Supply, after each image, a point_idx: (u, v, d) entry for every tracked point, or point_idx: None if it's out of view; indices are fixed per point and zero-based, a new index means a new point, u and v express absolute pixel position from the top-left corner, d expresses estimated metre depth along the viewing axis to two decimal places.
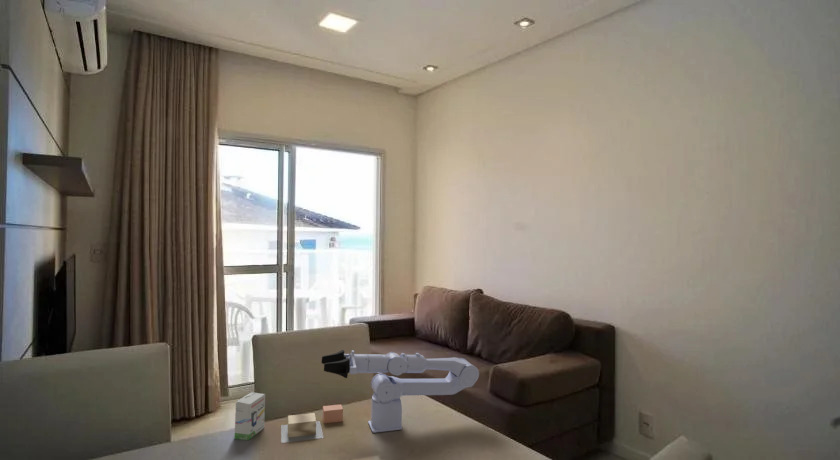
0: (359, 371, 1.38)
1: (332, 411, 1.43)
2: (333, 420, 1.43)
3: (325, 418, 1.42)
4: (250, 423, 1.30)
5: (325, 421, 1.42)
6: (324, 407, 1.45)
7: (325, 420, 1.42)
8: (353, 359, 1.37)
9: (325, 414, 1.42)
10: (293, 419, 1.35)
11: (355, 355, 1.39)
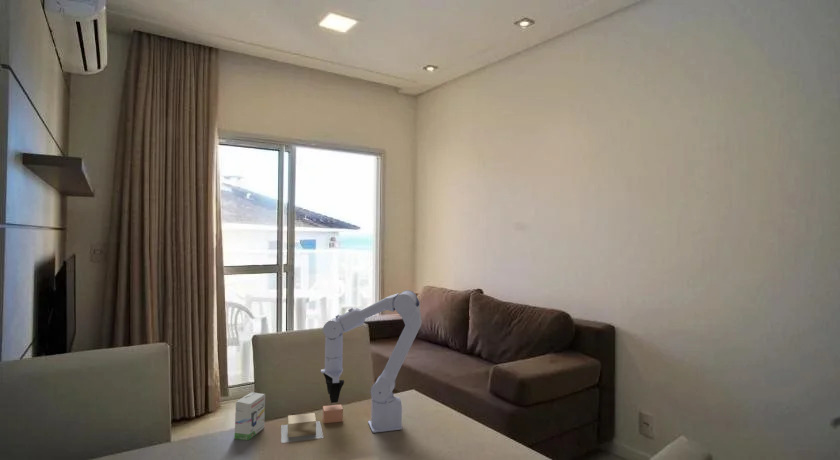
0: (340, 365, 1.43)
1: (332, 411, 1.43)
2: (333, 420, 1.43)
3: (325, 418, 1.42)
4: (250, 423, 1.30)
5: (325, 421, 1.42)
6: (324, 407, 1.45)
7: (325, 420, 1.42)
8: (327, 374, 1.41)
9: (325, 414, 1.42)
10: (293, 419, 1.35)
11: (325, 369, 1.43)
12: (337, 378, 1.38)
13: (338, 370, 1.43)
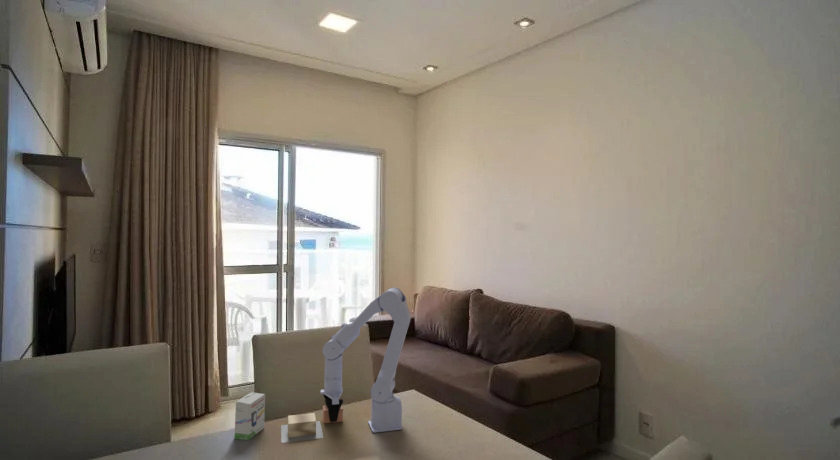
0: (339, 385, 1.43)
1: None
2: None
3: (325, 418, 1.42)
4: (250, 423, 1.30)
5: (325, 421, 1.42)
6: (324, 407, 1.45)
7: (325, 420, 1.42)
8: (327, 395, 1.41)
9: (325, 414, 1.42)
10: (293, 419, 1.35)
11: (324, 389, 1.43)
12: (337, 399, 1.38)
13: (337, 391, 1.43)
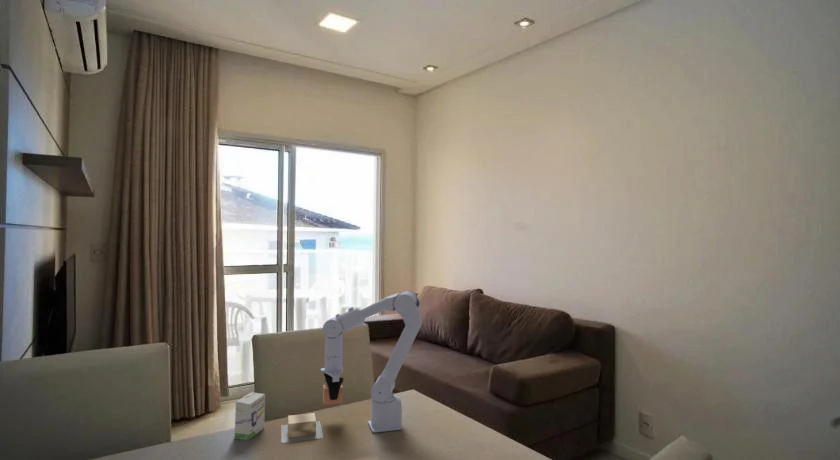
0: (340, 364, 1.43)
1: None
2: None
3: (325, 396, 1.42)
4: (250, 423, 1.30)
5: (325, 399, 1.42)
6: (324, 385, 1.45)
7: (325, 398, 1.42)
8: (327, 373, 1.41)
9: (325, 392, 1.42)
10: (293, 419, 1.35)
11: (325, 368, 1.43)
12: (337, 377, 1.38)
13: (338, 369, 1.43)
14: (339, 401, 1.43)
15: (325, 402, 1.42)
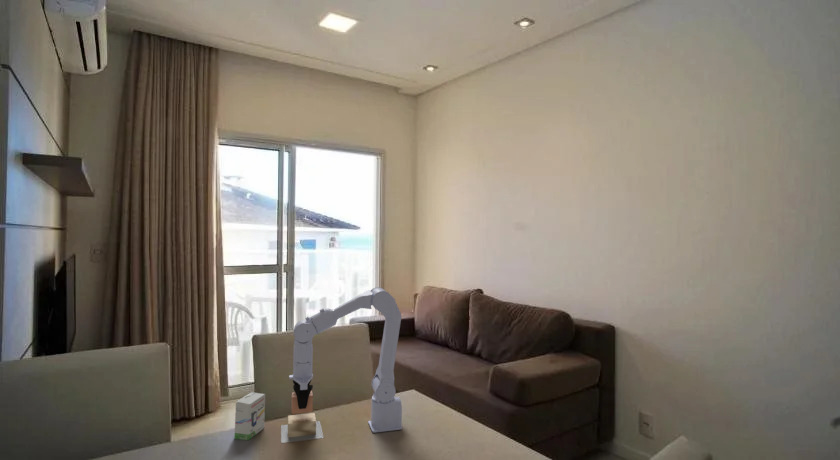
0: (309, 370, 1.34)
1: None
2: None
3: (293, 405, 1.33)
4: (250, 423, 1.30)
5: (293, 408, 1.33)
6: (293, 393, 1.36)
7: (293, 407, 1.33)
8: (295, 380, 1.32)
9: (293, 401, 1.33)
10: (293, 419, 1.35)
11: (293, 375, 1.34)
12: (305, 385, 1.29)
13: (307, 376, 1.34)
14: (308, 410, 1.35)
15: (293, 411, 1.33)
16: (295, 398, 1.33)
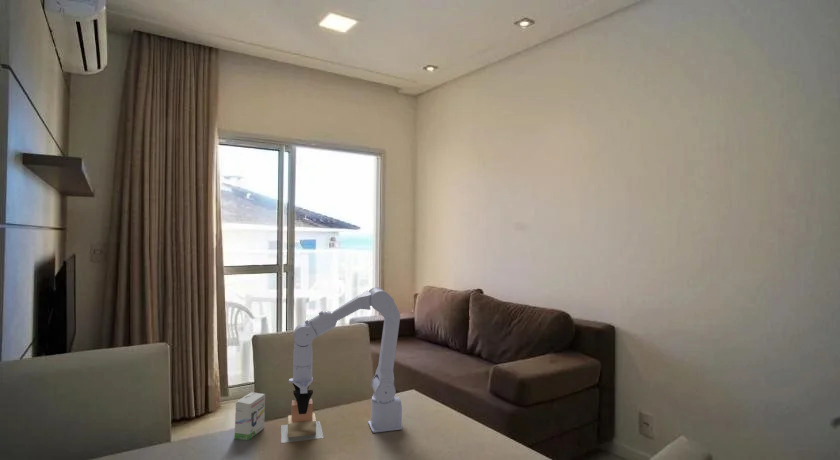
0: (309, 374, 1.34)
1: None
2: (302, 415, 1.34)
3: (293, 413, 1.33)
4: (250, 423, 1.30)
5: (293, 416, 1.33)
6: (293, 401, 1.36)
7: (293, 415, 1.33)
8: (295, 384, 1.32)
9: (293, 409, 1.33)
10: None
11: (293, 378, 1.34)
12: (305, 388, 1.29)
13: (307, 379, 1.34)
14: (308, 418, 1.35)
15: (293, 419, 1.33)
16: (295, 406, 1.33)
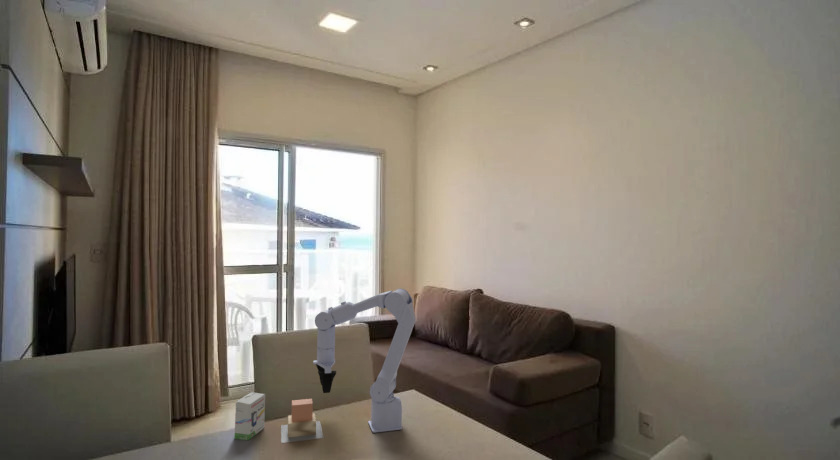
0: (332, 355, 1.45)
1: (301, 405, 1.34)
2: (302, 415, 1.34)
3: (293, 413, 1.33)
4: (250, 423, 1.30)
5: (293, 416, 1.33)
6: (293, 401, 1.36)
7: (293, 415, 1.33)
8: (320, 365, 1.43)
9: (293, 409, 1.33)
10: None
11: (317, 360, 1.45)
12: (329, 368, 1.40)
13: (330, 361, 1.44)
14: (308, 418, 1.35)
15: (293, 419, 1.33)
16: (295, 406, 1.33)
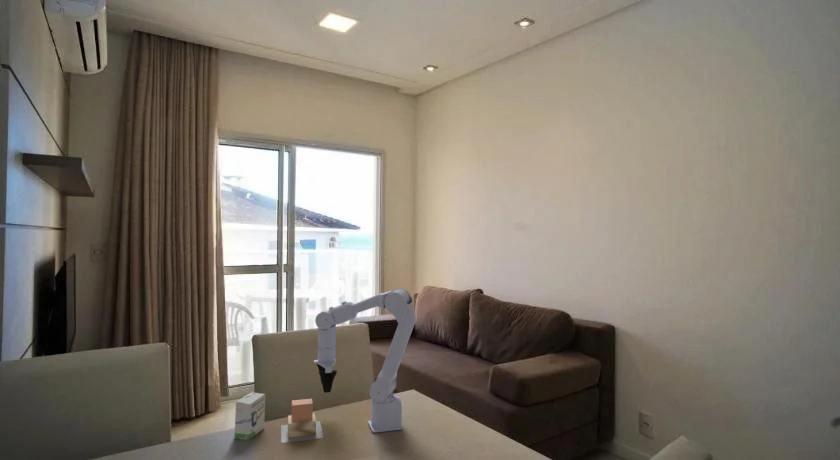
0: (332, 355, 1.45)
1: (301, 405, 1.34)
2: (302, 415, 1.34)
3: (293, 413, 1.33)
4: (250, 423, 1.30)
5: (293, 416, 1.33)
6: (293, 401, 1.36)
7: (293, 415, 1.33)
8: (320, 364, 1.43)
9: (293, 409, 1.33)
10: None
11: (318, 359, 1.45)
12: (330, 368, 1.40)
13: (331, 360, 1.45)
14: (308, 418, 1.35)
15: (293, 419, 1.33)
16: (295, 406, 1.33)
